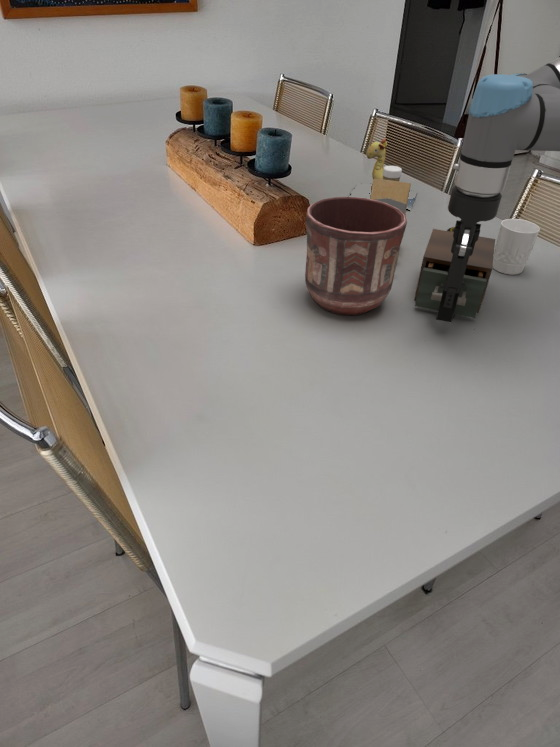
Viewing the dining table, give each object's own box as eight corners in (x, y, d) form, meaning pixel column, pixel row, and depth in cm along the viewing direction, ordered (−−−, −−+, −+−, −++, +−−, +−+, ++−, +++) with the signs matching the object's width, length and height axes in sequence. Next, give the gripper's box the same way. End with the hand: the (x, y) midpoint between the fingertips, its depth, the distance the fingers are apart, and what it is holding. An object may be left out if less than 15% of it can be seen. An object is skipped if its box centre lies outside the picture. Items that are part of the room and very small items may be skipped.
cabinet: (478, 313, 106) (492, 269, 100) (413, 300, 109) (423, 256, 103) (483, 281, 117) (495, 239, 111) (424, 270, 120) (433, 228, 114)
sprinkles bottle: (397, 221, 141) (406, 168, 133) (384, 225, 139) (392, 171, 131) (384, 215, 144) (393, 163, 136) (372, 219, 142) (379, 166, 134)
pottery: (324, 332, 99) (334, 238, 88) (287, 287, 111) (291, 201, 100) (407, 315, 104) (426, 226, 93) (363, 274, 117) (375, 191, 106)
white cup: (523, 279, 118) (538, 235, 112) (486, 271, 120) (499, 228, 114) (526, 265, 124) (541, 222, 118) (491, 257, 126) (503, 215, 120)
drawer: (473, 329, 99) (485, 292, 95) (411, 316, 102) (419, 279, 97) (479, 286, 113) (490, 252, 108) (424, 276, 115) (432, 242, 111)
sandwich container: (355, 268, 119) (364, 201, 110) (364, 240, 131) (372, 177, 122) (395, 273, 118) (407, 206, 109) (399, 245, 130) (411, 182, 121)
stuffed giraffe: (357, 183, 164) (366, 127, 153) (417, 193, 160) (430, 137, 150) (345, 202, 152) (353, 144, 142) (409, 215, 148) (422, 155, 138)
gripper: (456, 173, 90) (427, 298, 104) (448, 199, 80) (418, 333, 94) (503, 180, 88) (468, 306, 102) (501, 207, 78) (462, 342, 93)
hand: (444, 319), depth 98 cm, fingers closed
